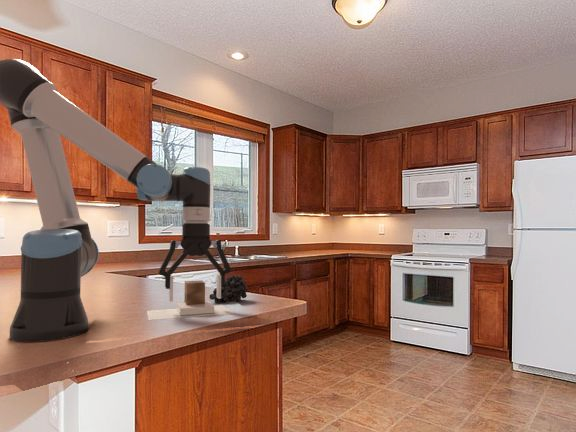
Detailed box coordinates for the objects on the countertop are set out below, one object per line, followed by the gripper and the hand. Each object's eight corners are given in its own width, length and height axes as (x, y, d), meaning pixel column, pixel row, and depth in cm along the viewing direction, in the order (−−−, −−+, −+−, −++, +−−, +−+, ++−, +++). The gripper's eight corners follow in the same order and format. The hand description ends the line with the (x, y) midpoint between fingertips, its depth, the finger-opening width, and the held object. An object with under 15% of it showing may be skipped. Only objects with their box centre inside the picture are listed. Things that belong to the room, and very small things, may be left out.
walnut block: (186, 305, 108) (187, 283, 108) (184, 302, 113) (184, 281, 113) (204, 304, 110) (205, 282, 110) (201, 300, 114) (202, 280, 115)
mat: (148, 322, 99) (148, 320, 99) (146, 312, 110) (146, 310, 110) (233, 315, 107) (233, 313, 107) (224, 307, 118) (224, 305, 118)
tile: (180, 308, 103) (214, 306, 106) (176, 302, 111) (208, 300, 115) (180, 316, 103) (214, 313, 106) (176, 309, 111) (208, 307, 115)
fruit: (214, 276, 120) (248, 271, 131) (198, 283, 124) (232, 277, 136) (220, 304, 118) (254, 297, 130) (203, 310, 123) (238, 302, 134)
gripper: (150, 222, 102) (149, 304, 101) (242, 223, 111) (241, 298, 110) (149, 222, 109) (148, 299, 108) (235, 223, 118) (235, 294, 117)
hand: (195, 299), depth 109 cm, fingers open, 12 cm apart
